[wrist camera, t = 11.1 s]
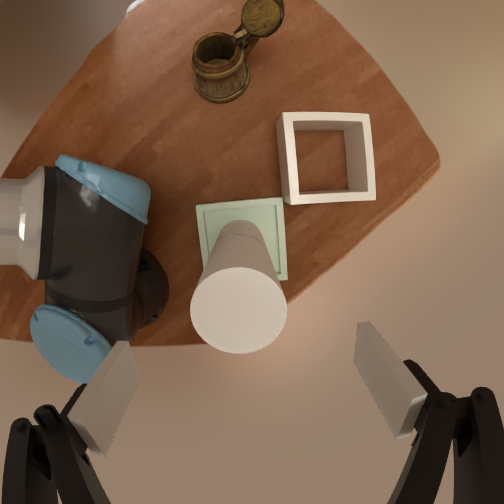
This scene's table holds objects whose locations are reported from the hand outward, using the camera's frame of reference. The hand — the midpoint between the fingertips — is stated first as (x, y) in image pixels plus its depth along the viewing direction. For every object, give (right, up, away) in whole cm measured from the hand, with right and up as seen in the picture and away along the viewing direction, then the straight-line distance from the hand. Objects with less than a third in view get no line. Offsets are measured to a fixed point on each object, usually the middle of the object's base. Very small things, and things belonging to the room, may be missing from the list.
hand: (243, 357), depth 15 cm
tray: (-1, +8, +31) cm, 32 cm away
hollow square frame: (+11, +20, +28) cm, 36 cm away
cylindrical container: (-1, +7, +30) cm, 31 cm away
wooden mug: (-2, +35, +24) cm, 42 cm away
